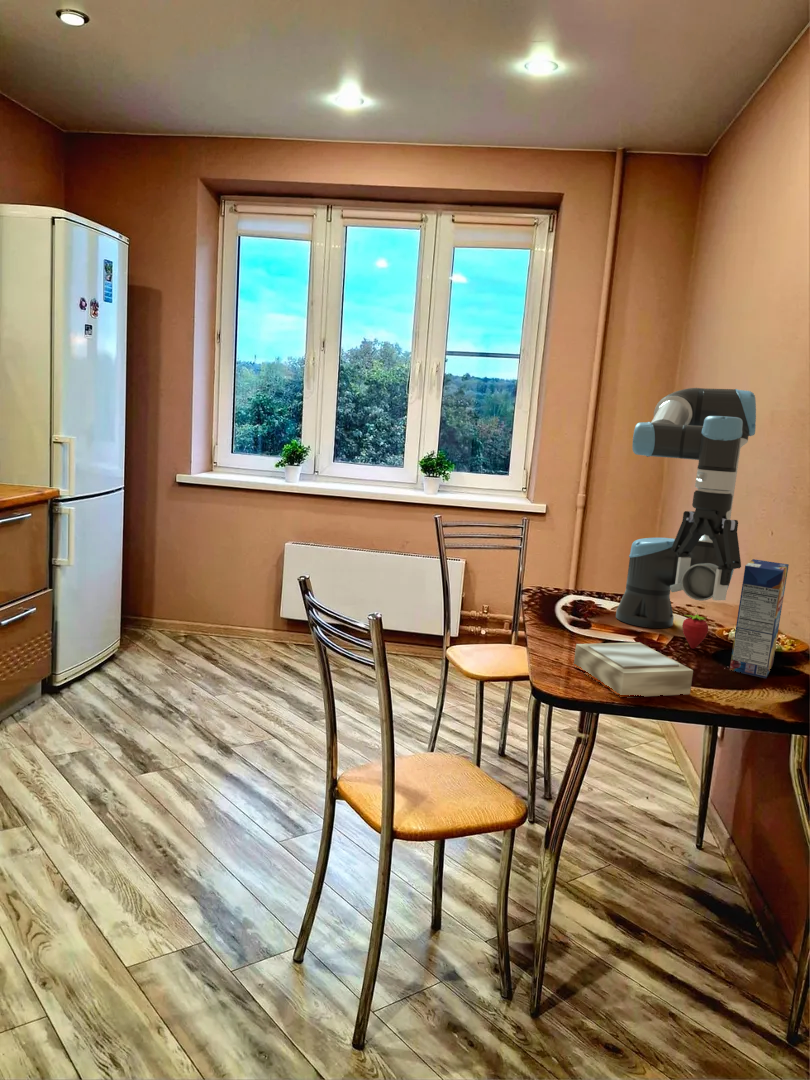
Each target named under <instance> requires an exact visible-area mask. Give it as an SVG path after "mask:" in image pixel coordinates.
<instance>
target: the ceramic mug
mask: <svg viewBox="0 0 810 1080" xmlns="http://www.w3.org/2000/svg"><path fill="white" fill-rule="evenodd" d="M717 569H718V566H716V565H714V564H711V563H703V564H695V565H693V566H691V567H689V568H688V569H687V570H686V571H685V572H684V574H683V575H682V579H681V583H678V584H674V585H671V586H670V589H671V590H670V593H675V592H681V591H683V592H684V594H686V596H688V597H689V598H691V599H693V600H695V601H701V602H702V601H708V600H710V599H712V598H713V591H714V584H715V577H716V570H717Z"/></svg>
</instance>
